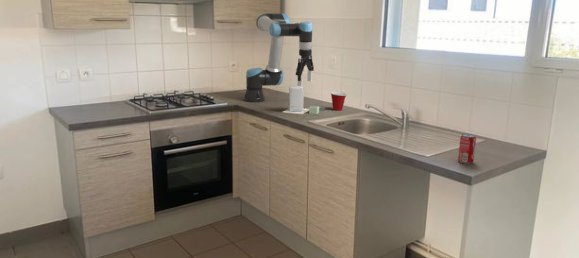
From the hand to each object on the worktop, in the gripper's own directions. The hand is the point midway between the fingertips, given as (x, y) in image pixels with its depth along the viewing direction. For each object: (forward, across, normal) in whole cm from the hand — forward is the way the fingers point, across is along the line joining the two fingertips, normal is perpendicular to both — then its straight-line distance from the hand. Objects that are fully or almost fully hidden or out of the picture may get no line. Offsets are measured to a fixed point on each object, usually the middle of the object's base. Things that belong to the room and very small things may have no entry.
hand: (304, 83), depth 270 cm
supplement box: (+21, +7, +9) cm, 24 cm away
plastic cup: (+23, +25, -13) cm, 36 cm away
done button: (+21, +8, -4) cm, 22 cm away
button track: (+22, +11, -3) cm, 24 cm away
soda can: (+11, -48, -101) cm, 112 cm away
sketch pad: (+22, +7, +9) cm, 24 cm away
